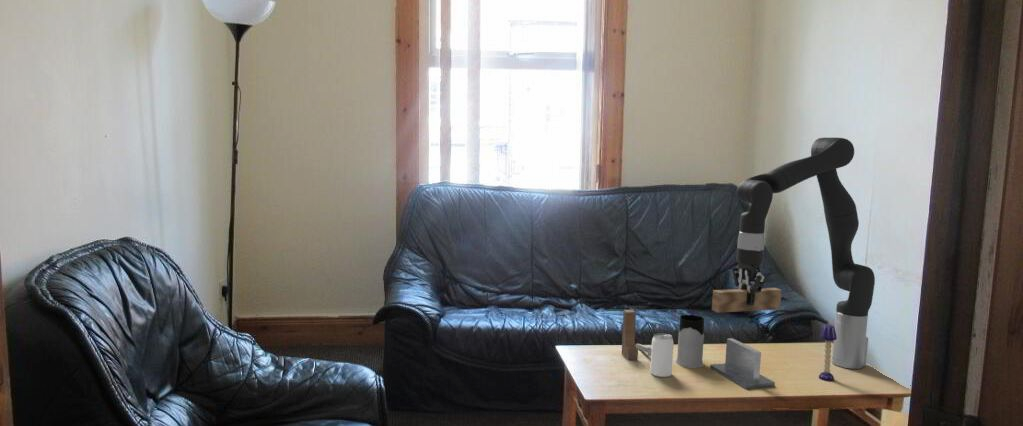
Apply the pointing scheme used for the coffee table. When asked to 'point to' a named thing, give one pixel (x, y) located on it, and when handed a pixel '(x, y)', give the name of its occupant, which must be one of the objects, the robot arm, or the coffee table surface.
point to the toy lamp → (827, 350)
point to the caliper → (644, 348)
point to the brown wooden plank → (745, 300)
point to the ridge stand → (742, 366)
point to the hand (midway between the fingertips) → (746, 303)
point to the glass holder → (690, 341)
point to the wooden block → (629, 335)
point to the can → (662, 355)
